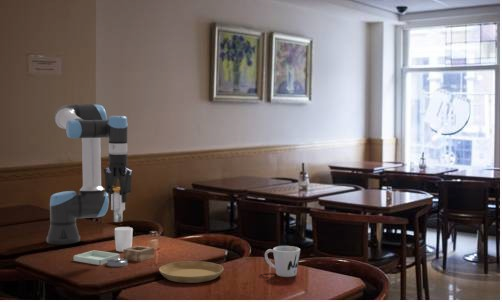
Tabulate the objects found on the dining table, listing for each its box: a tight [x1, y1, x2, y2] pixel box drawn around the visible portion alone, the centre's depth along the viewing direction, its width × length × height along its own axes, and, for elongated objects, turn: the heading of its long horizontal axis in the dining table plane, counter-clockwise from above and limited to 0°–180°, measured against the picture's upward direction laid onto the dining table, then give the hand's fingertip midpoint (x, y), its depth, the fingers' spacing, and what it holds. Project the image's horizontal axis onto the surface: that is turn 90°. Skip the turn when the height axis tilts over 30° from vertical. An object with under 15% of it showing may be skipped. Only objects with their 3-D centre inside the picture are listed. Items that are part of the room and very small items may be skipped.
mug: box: [264, 245, 301, 278], centre depth 240 cm, size 10×15×10 cm
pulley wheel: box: [106, 257, 129, 268], centre depth 250 cm, size 8×8×3 cm
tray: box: [73, 249, 121, 266], centre depth 257 cm, size 14×12×2 cm
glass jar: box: [113, 186, 124, 223], centre depth 258 cm, size 5×5×14 cm
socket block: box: [122, 245, 155, 262], centre depth 261 cm, size 9×9×4 cm
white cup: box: [114, 226, 134, 252], centre depth 276 cm, size 8×8×10 cm
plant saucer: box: [158, 260, 224, 284], centre depth 235 cm, size 24×24×3 cm
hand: (118, 209), depth 258 cm, fingers closed on glass jar, 3 cm apart
